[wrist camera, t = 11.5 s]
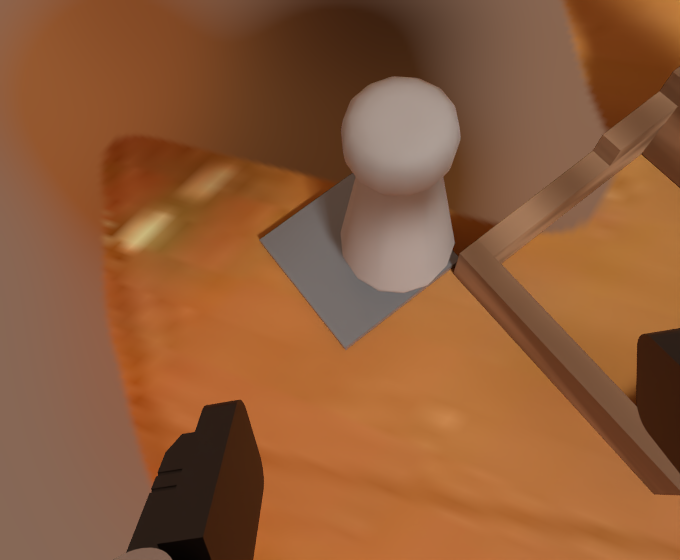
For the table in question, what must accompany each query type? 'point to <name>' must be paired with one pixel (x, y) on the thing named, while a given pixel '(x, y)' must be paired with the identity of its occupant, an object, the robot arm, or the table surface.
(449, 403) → the table surface
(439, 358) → the table surface
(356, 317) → the plate
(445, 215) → the salt shaker
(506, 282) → the frame
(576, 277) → the table surface
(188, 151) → the table surface
